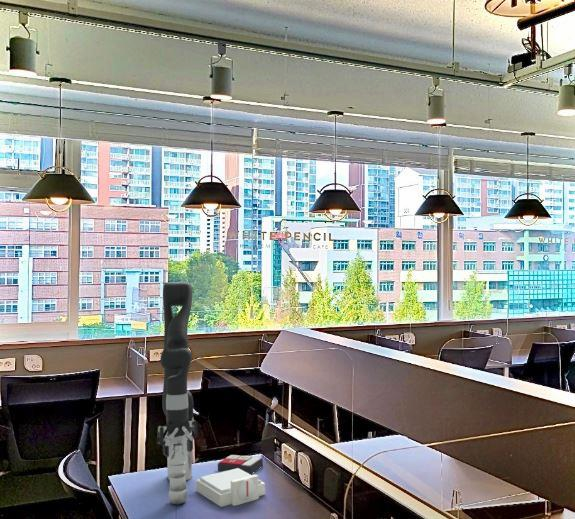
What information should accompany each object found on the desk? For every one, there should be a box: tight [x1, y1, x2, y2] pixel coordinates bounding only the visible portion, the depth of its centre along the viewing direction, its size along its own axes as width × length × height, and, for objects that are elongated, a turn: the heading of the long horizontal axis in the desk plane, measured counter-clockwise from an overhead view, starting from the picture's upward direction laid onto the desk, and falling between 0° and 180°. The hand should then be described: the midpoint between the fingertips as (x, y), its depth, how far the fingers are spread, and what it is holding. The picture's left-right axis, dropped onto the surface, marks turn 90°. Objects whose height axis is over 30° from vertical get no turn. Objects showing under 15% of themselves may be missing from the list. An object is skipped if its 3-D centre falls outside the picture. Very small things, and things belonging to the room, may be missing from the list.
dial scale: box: [195, 468, 266, 507], centre depth 212 cm, size 21×18×8 cm
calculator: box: [217, 454, 264, 475], centre depth 239 cm, size 11×4×15 cm
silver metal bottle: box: [167, 443, 188, 505], centre depth 205 cm, size 6×7×20 cm
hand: (178, 453), depth 205 cm, fingers open, 8 cm apart
